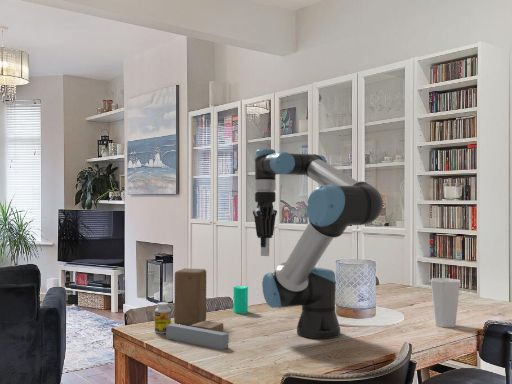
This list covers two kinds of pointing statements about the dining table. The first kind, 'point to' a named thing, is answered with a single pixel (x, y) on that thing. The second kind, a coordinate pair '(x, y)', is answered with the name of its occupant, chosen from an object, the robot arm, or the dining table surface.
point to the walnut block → (209, 326)
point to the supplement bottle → (162, 317)
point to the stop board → (197, 336)
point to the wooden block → (190, 296)
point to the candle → (240, 299)
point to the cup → (445, 300)
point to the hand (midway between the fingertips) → (265, 255)
